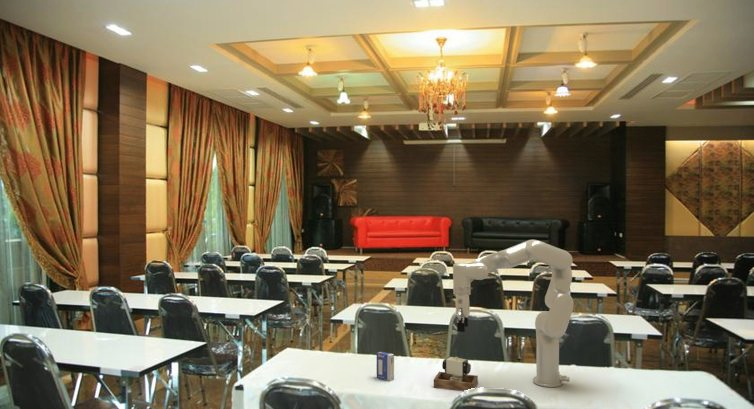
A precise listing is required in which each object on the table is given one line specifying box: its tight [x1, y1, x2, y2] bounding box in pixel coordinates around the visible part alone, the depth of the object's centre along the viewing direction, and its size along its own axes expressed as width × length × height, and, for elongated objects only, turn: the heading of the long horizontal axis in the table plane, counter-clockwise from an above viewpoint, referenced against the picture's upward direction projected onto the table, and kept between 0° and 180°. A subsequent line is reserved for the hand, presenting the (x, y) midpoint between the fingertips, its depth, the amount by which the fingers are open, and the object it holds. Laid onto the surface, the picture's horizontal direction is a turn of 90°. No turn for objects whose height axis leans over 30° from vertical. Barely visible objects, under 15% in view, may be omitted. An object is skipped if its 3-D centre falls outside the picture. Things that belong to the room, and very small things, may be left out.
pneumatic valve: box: [441, 356, 472, 382], centre depth 234 cm, size 6×12×12 cm, turn 58°
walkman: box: [376, 351, 395, 382], centre depth 242 cm, size 8×3×12 cm, turn 57°
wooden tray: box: [433, 371, 479, 392], centre depth 234 cm, size 17×11×4 cm, turn 71°
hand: (462, 329), depth 237 cm, fingers open, 9 cm apart
